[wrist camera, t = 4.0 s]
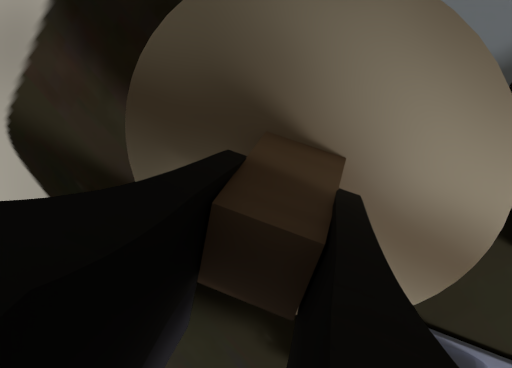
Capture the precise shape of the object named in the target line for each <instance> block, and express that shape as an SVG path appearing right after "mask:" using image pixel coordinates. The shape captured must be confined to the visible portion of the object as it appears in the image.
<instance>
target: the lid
mask: <svg viewBox="0 0 512 368" xmlns="http://www.w3.org/2000/svg"><path fill="white" fill-rule="evenodd" d="M125 131H126V144H127V150H128V157H129V162H130V165H131V169H132V172H133V176H134V179H135V182H137V181H140V180H144V179H147V178H150V177H153V176H156V175H159V174H163V173H166V172H169V171H172V170H175V169H178V168H180V167H183V166H186V165H188V164H191V163H194V162H196V161H199V160H201V159H204V158H206V157H209V156H211V155H214V154H216V153H219V152H222V151H225V150H231V151H234V152H237V153H240V154H243V155H246V156H247V157H246V160H245V161H244V162H243V164H242V165H241V166H240V168H239V169H238V170H237V172H236V173H235V174H234V175H233V176H232V177H231V178H230V180H229V181H228V182H227V184H226V185H225V186H224V188H223V189H222V190H221V192H220V193H219V194H218V196H217V197H216V198H215V200H214V201H213V202H212V206H211V211H210V216H209V222H208V227H207V233H206V238H205V243H204V249H203V254H202V260H201V265H200V270H199V276H198V281H197V282H198V283H201V284H203V285H206V286H208V287H210V288H213V289H215V290H218V291H220V292H223V293H225V294H228V295H230V296H233V297H235V298H237V299H240V300H242V301H245V302H247V303H250V304H252V305H255V306H257V307H260V308H262V309H264V310H267V311H269V312H272V313H274V314H277V315H279V316H282V317H284V318H287V319H289V320H291V321H293V319H294V317H295V315H297V312H298V307H299V305H300V303H301V300H302V298H303V296H304V293H305V291H306V288H307V286H308V284H309V281H310V279H311V277H312V274H313V272H314V269H315V267H316V265H317V262H318V260H319V258H320V255H321V253H322V250H323V248H324V246H325V242H326V238H327V234H328V230H329V226H330V222H331V218H332V210H333V203H334V200H335V196H336V192H337V190H338V189H339V188H340V189H343V190H346V191H349V192H352V193H355V194H357V195H360V196H361V198H362V200H363V203H364V206H365V209H366V212H367V215H368V217H369V220H370V223H371V225H372V228H373V231H374V233H375V235H376V238H377V240H378V242H379V245H380V247H381V249H382V251H383V254H384V256H385V258H386V260H387V262H388V264H389V266H390V268H391V270H392V272H393V274H394V276H395V277H396V279H397V281H398V283H399V284H400V286H401V288H402V289H403V291H404V293H405V294H406V296H407V297H408V299H409V300H410V302H411V303H412V305H415V304H418V303H420V302H422V301H424V300H426V299H428V298H430V297H432V296H434V295H436V294H438V293H439V292H441V291H442V290H444V289H445V288H447V287H449V286H450V285H452V284H453V283H455V282H456V281H457V280H459V279H460V278H461V277H462V276H463V275H464V274H465V273H467V272H468V271H469V270H470V269H471V268H472V267H474V266H475V264H476V263H477V262H478V261H479V260H480V259H481V258H482V256H483V255H484V254H485V253H486V252H487V251H488V249H489V248H490V247H491V245H492V244H493V242H494V241H495V239H496V237H497V236H498V234H499V233H500V231H501V230H502V228H503V226H504V224H505V222H506V219H507V217H508V215H509V212H510V210H511V208H512V93H511V90H510V88H509V86H508V84H507V82H506V80H505V77H504V75H503V73H502V71H501V69H500V67H499V65H498V63H497V61H496V60H495V58H494V57H493V55H492V54H491V52H490V51H489V50H488V48H487V47H486V45H485V44H484V42H483V41H482V39H481V38H480V37H479V35H478V34H477V33H476V32H475V31H474V30H473V29H472V28H471V27H470V26H469V25H468V24H467V23H466V22H465V21H464V20H463V19H462V18H461V17H460V16H459V15H458V14H457V12H456V11H454V10H453V9H452V8H451V7H449V6H448V5H447V4H445V3H444V2H443V1H441V0H183V1H181V2H180V3H179V4H178V5H177V6H176V7H175V8H174V9H173V10H172V11H171V12H170V13H169V14H168V15H167V16H166V17H165V18H164V20H163V21H162V22H161V23H160V25H159V26H158V27H157V29H156V30H155V31H154V32H153V34H152V35H151V37H150V39H149V40H148V42H147V44H146V46H145V48H144V49H143V51H142V53H141V55H140V57H139V60H138V62H137V65H136V67H135V70H134V73H133V75H132V79H131V83H130V87H129V92H128V96H127V104H126V115H125Z"/></svg>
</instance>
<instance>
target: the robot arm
mask: <svg viewBox="0 0 512 368" xmlns="http://www.w3.org/2000/svg"><path fill="white" fill-rule="evenodd" d="M246 157H247V156H246V155H243V154H240V153H237V152H234V151H231V150H225V151H222V152H219V153H216V154H214V155H211V156H209V157H206V158H204V159H201V160H199V161H196V162H194V163H191V164H188V165H186V166H183V167H180V168H178V169H175V170H172V171H169V172H166V173H163V174H159V175H156V176H153V177H150V178H147V179H144V180H140V181H137V182H133V183H129V184H125V185H121V186H116V187H111V188H107V189H102V190H97V191H91V192H84V193H77V194H70V195H63V196H56V197H48V198H38V199H27V200H13V201H0V368H142V367H143V365H144V363H145V361H146V360H147V358H148V356H149V354H150V352H151V350H152V349H153V347H154V345H155V343H156V342H157V340H158V338H159V336H160V334H161V333H162V331H163V329H164V327H165V326H166V324H167V322H168V320H169V319H170V317H171V316H172V314H173V312H174V311H175V309H176V308H177V306H178V305H179V303H180V302H181V301H182V299H183V298H184V296H185V295H186V293H187V292H188V291H189V289H190V288H191V286H192V285H193V284H194V282H195V281H196V279H197V278H198V276H199V270H200V265H201V260H202V254H203V249H204V243H205V238H206V233H207V227H208V222H209V216H210V211H211V206H212V202H213V201H214V200H215V198H216V197H217V196H218V194H219V193H220V192H221V190H222V189H223V188H224V186H225V185H226V184H227V182H228V181H229V180H230V178H231V177H232V176H233V175H234V174H235V173H236V172H237V170H238V169H239V168H240V166H241V165H242V164H243V162H244V161H245V160H246ZM287 368H512V360H509V359H507V358H504V357H502V356H499V355H496V354H494V353H491V352H489V351H486V350H484V349H481V348H478V347H476V346H473V345H471V344H468V343H466V342H463V341H460V340H458V339H455V338H453V337H450V336H447V335H445V334H442V333H440V332H437V331H435V330H432V329H429V328H428V327H427V326H426V324H425V323H424V321H423V320H422V319H421V317H420V316H419V314H418V313H417V311H416V310H415V308H414V307H413V305H412V303H411V302H410V300H409V299H408V297H407V296H406V294H405V293H404V291H403V289H402V288H401V286H400V284H399V283H398V281H397V279H396V277H395V276H394V274H393V272H392V270H391V268H390V266H389V264H388V262H387V260H386V258H385V256H384V254H383V251H382V249H381V247H380V245H379V242H378V240H377V238H376V235H375V233H374V231H373V228H372V225H371V223H370V220H369V217H368V215H367V212H366V209H365V206H364V203H363V200H362V198H361V196H360V195H357V194H355V193H352V192H349V191H346V190H343V189H340V188H339V189H338V190H337V192H336V196H335V200H334V203H333V210H332V218H331V222H330V226H329V230H328V234H327V238H326V242H325V246H324V248H323V250H322V253H321V255H320V258H319V260H318V262H317V265H316V267H315V269H314V272H313V274H312V277H311V279H310V281H309V284H308V286H307V288H306V291H305V293H304V296H303V298H302V300H301V303H300V305H299V307H298V312H297V317H296V323H295V328H294V333H293V339H292V344H291V350H290V355H289V359H288V363H287Z"/></svg>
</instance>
